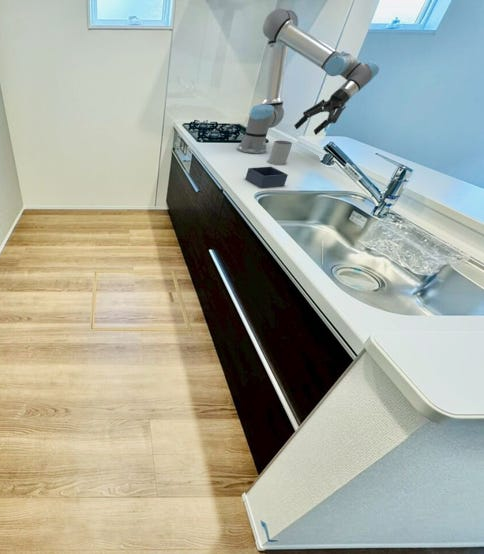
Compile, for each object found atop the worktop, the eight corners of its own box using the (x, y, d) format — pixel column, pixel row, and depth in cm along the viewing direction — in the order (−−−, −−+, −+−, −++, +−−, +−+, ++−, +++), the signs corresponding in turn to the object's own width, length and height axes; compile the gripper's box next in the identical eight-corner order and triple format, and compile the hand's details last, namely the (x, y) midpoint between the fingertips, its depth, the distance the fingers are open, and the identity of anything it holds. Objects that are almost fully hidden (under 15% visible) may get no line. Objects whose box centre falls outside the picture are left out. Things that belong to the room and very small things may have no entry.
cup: (287, 165, 154) (294, 144, 148) (270, 164, 156) (276, 144, 150) (283, 160, 161) (289, 140, 155) (267, 159, 162) (272, 140, 156)
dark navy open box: (245, 179, 137) (248, 168, 134) (267, 177, 139) (271, 166, 136) (260, 188, 128) (263, 176, 125) (284, 185, 130) (288, 174, 127)
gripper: (367, 104, 137) (326, 140, 143) (325, 98, 156) (290, 130, 162) (364, 90, 132) (321, 129, 139) (321, 86, 152) (285, 120, 158)
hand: (304, 129), depth 151 cm, fingers open, 13 cm apart
